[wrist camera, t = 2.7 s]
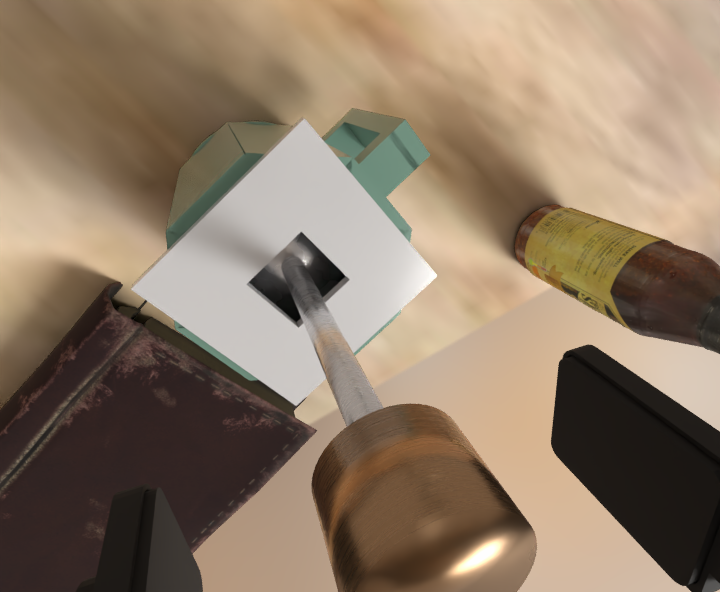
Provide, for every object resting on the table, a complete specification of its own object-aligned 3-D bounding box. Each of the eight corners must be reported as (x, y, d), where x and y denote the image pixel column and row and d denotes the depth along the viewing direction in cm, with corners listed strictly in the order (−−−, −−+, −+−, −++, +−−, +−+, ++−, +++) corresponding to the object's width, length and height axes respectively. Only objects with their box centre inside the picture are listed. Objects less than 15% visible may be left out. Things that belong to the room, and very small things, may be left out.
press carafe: (146, 198, 29) (104, 290, 16) (292, 51, 28) (367, 30, 15) (260, 294, 34) (295, 420, 21) (388, 172, 33) (502, 230, 21)
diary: (-99, 518, 34) (-145, 583, 29) (113, 272, 31) (97, 303, 27) (132, 584, 43) (123, 641, 38) (312, 398, 40) (324, 436, 36)
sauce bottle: (501, 268, 40) (728, 414, 23) (523, 197, 37) (796, 299, 20) (560, 272, 42) (808, 407, 25) (585, 205, 40) (877, 304, 23)
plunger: (168, 265, 19) (95, 684, 6) (292, 143, 18) (515, 307, 5) (288, 358, 23) (408, 745, 10) (395, 258, 22) (677, 523, 9)
